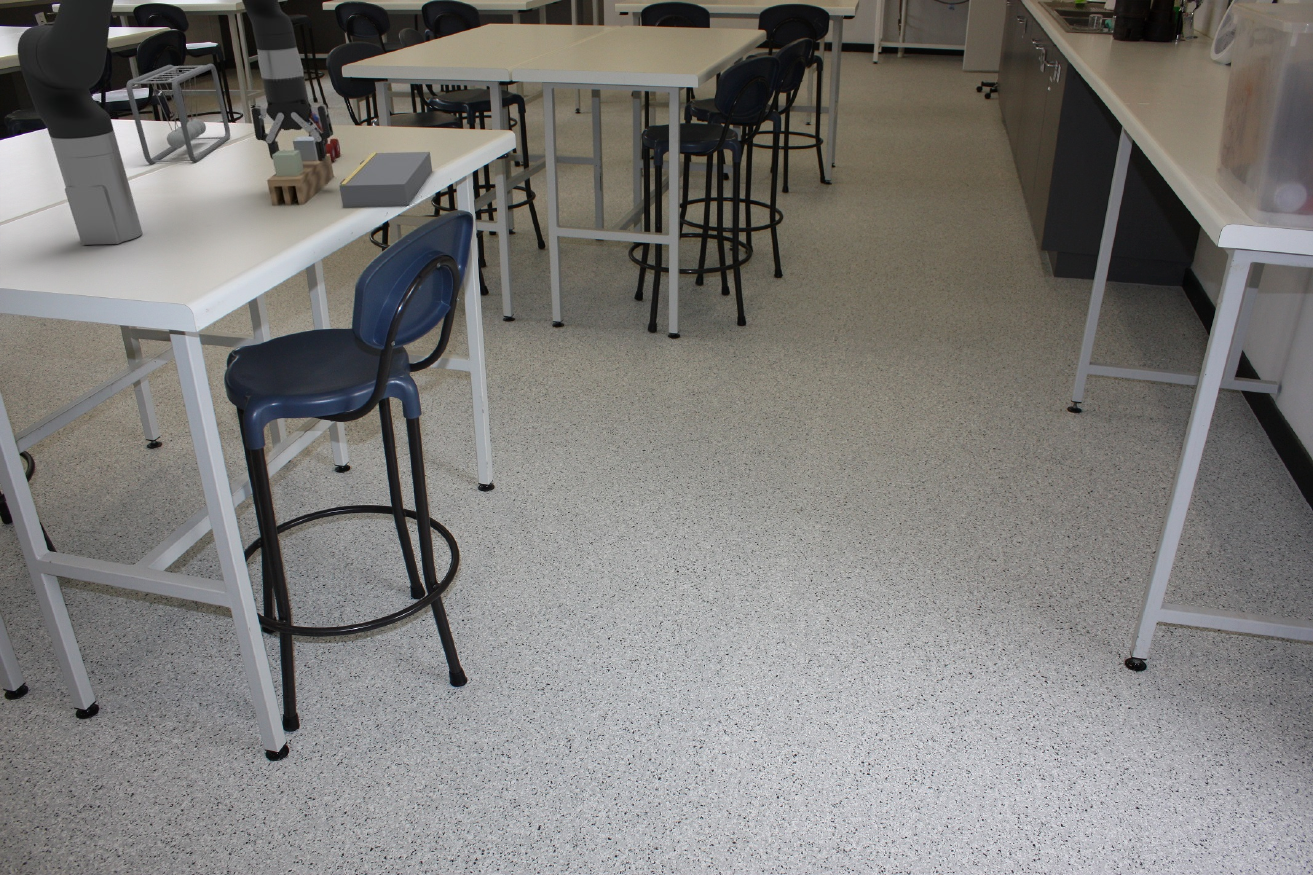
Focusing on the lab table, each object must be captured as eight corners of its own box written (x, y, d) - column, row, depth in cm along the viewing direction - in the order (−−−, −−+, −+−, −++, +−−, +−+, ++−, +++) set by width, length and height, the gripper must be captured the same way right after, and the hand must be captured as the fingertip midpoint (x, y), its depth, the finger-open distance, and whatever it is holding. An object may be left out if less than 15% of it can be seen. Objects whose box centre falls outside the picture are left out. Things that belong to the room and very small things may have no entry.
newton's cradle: (195, 164, 211) (174, 80, 202) (146, 166, 210) (123, 82, 201) (232, 138, 237) (215, 62, 228) (188, 139, 236) (170, 63, 227)
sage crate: (297, 176, 179) (293, 154, 177) (276, 177, 179) (272, 155, 177) (303, 171, 182) (299, 150, 180) (282, 172, 182) (278, 150, 180)
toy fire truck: (299, 167, 207) (290, 117, 202) (312, 154, 218) (303, 107, 213) (332, 165, 208) (323, 116, 203) (343, 153, 219) (335, 106, 214)
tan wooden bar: (304, 205, 179) (299, 179, 177) (272, 206, 179) (267, 180, 177) (334, 178, 198) (329, 154, 196) (305, 179, 198) (300, 154, 196)
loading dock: (407, 205, 177) (404, 183, 175) (337, 207, 177) (333, 184, 175) (432, 171, 202) (429, 151, 199) (370, 172, 201) (367, 152, 199)
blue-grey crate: (316, 161, 190) (312, 140, 188) (296, 161, 190) (292, 141, 188) (322, 156, 194) (318, 136, 192) (302, 157, 194) (298, 137, 192)
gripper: (237, 78, 175) (257, 167, 183) (315, 76, 175) (331, 164, 183) (250, 72, 181) (269, 158, 189) (325, 70, 182) (341, 155, 190)
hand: (300, 161), depth 186 cm, fingers open, 8 cm apart
